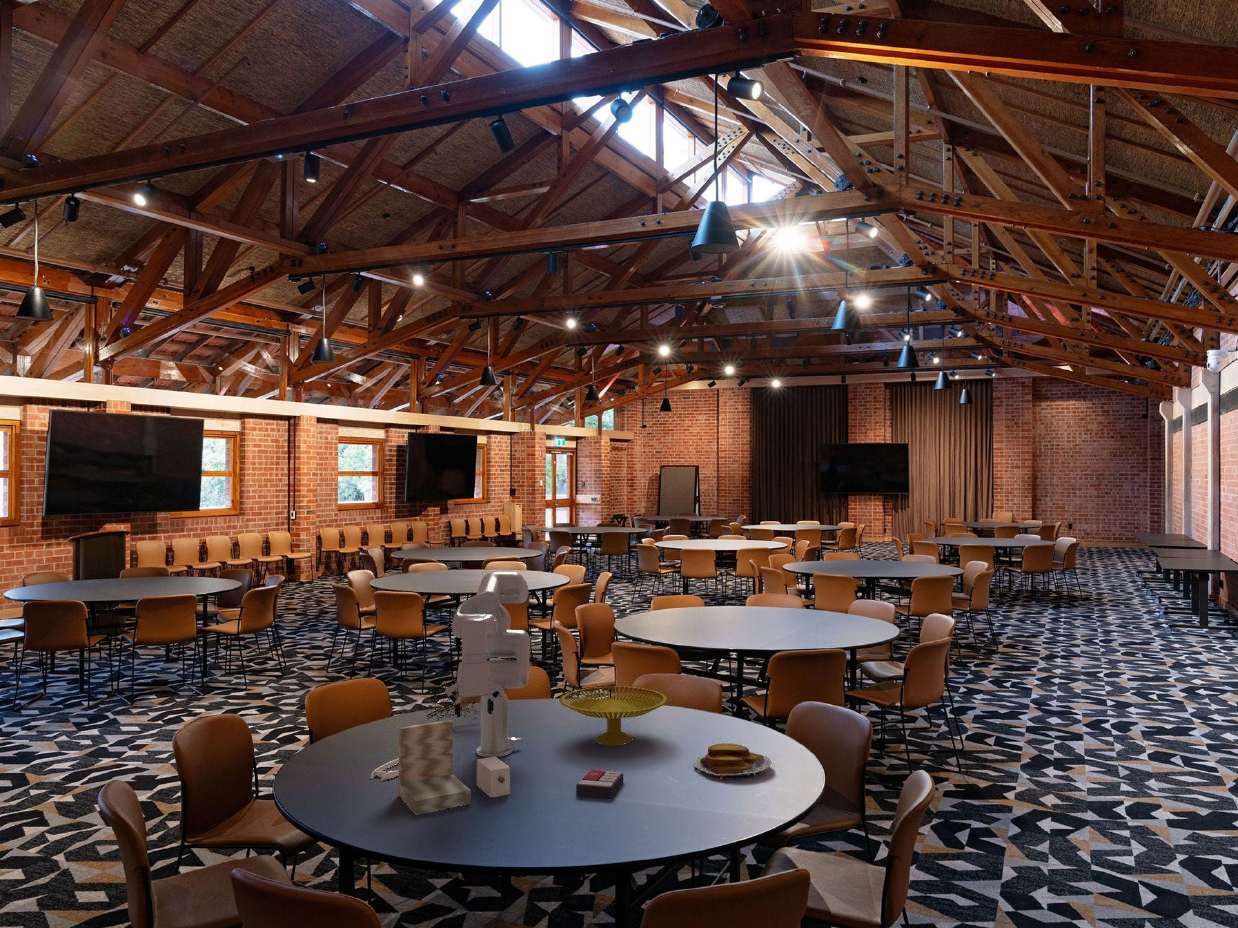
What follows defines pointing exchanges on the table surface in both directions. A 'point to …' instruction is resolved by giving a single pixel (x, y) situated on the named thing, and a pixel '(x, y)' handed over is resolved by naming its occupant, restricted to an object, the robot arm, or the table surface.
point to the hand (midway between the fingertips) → (474, 714)
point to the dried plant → (451, 704)
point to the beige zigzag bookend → (429, 769)
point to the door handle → (385, 774)
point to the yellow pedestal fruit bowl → (613, 709)
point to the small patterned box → (599, 784)
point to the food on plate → (732, 761)
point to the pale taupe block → (493, 776)
